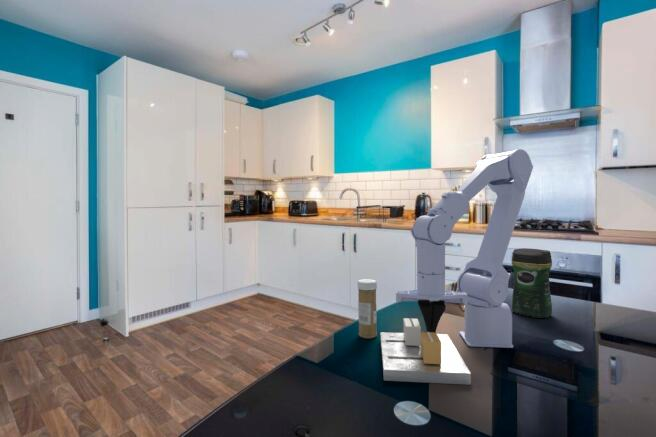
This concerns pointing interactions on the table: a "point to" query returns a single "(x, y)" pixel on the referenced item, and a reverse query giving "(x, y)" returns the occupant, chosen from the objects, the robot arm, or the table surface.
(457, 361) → the fader panel
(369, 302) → the sprinkles bottle
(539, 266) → the coffee jar
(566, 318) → the table surface
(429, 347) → the fader knob orange
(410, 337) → the fader knob white
